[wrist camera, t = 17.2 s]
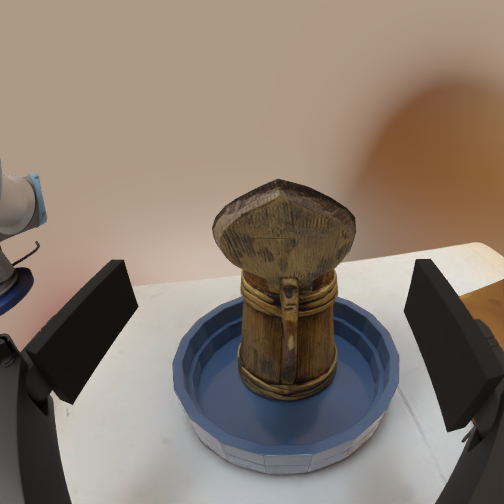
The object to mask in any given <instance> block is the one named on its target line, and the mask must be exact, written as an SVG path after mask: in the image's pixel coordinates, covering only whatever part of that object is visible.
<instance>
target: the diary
mask: <svg viewBox="0 0 504 504" xmlns="http://www.w3.org/2000/svg"><path fill="white" fill-rule="evenodd" d="M459 298H460V299H461V300H462V302H463V303H464V305H465V306H466V308H467V309H468V311H469V312H470V314H471V315H472V317H473V318H474V319H480V320H481V321H483V322H484V323H485V324H486V325H487V326H488V327H489V328H490V330H491V331H492V333H493V334H494V336H495V338H496V339H497V341H498V342H499V346H501V347H502V349H503V351H504V279H503V280H500V281H498V282H496V283H493V284H491V285H488V286H486V287H483V288H481V289H478V290H475V291H473V292H470V293H467V294H465V295H462V296H459ZM472 421H473V423H474V424H475V425H476V423H475V420H474V417H473V418H472Z"/></svg>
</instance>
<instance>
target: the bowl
mask: <svg viewBox="0 0 504 504" xmlns="http://www.w3.org/2000/svg"><path fill="white" fill-rule="evenodd" d="M242 316H243V296H242V297H239V298H237V299H234V300H232V301H229V302H227V303H224V304H222V305H219V306H218V307H216V308H215V309H213V310H212V311H210V312H209V313H208V314H206V315H205V316H203V317H202V318H200V319H199V320H198V321H197V322H196V323H195V324H194V325H193V326H192V327H191V329H190V330H189V331H188V332H187V333H186V334H185V336H184V337H183V338H182V340H181V342H180V344H179V347H178V350H177V352H176V355H175V358H174V360H173V363H172V365H173V381H174V391H175V393H176V395H177V397H178V400H179V402H180V404H181V406H182V408H183V410H184V412H185V414H186V416H187V418H188V420H189V421H190V423H191V425H192V427H193V428H194V430H195V432H196V434H197V435H198V437H199V439H200V440H201V441H202V442H203V443H204V444H205V445H207V446H208V447H209V448H211V449H212V450H213V451H214V452H216V453H217V454H218V455H220V456H221V457H222V458H224V459H225V460H226V461H228V462H230V463H233V464H236V465H239V466H242V467H245V468H248V469H251V470H254V471H258V472H261V473H265V474H291V473H307V472H311V471H314V470H317V469H320V468H322V467H325V466H328V465H331V464H333V463H336V462H338V461H341V460H343V459H345V458H346V457H348V456H349V455H350V454H351V453H353V452H354V451H355V450H356V449H357V448H359V447H360V446H361V445H362V444H363V443H364V442H366V441H367V440H368V439H369V438H370V437H371V436H372V435H373V433H374V431H375V429H376V428H377V426H378V424H379V422H380V420H381V419H382V417H383V415H384V413H385V411H386V409H387V407H388V405H389V403H390V401H391V399H392V397H393V395H394V393H395V390H396V388H397V386H398V383H399V354H398V352H397V350H396V347H395V345H394V342H393V340H392V338H391V335H390V333H389V332H388V331H387V330H386V329H385V327H384V326H383V325H382V324H381V323H380V322H379V321H378V320H377V319H376V318H375V317H374V316H373V315H372V314H371V313H369V312H368V311H366V310H364V309H363V308H361V307H359V306H358V305H356V304H354V303H353V302H351V301H349V300H346V299H342V298H339V297H337V298H336V300H335V302H334V304H333V319H334V342H335V345H336V349H337V370H336V372H335V375H334V377H333V379H332V382H331V383H330V384H328V385H327V386H326V387H325V388H324V389H322V390H321V391H319V392H317V393H315V394H313V395H311V396H309V397H305V398H301V399H298V400H281V399H273V398H266V397H263V396H261V395H259V394H257V393H254V392H252V391H251V390H250V389H249V388H248V387H247V386H246V385H245V384H244V383H243V381H242V379H241V376H240V374H239V371H238V348H239V345H240V343H241V334H242Z"/></svg>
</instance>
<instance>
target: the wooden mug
mask: <svg viewBox="0 0 504 504" xmlns="http://www.w3.org/2000/svg"><path fill="white" fill-rule="evenodd" d="M212 230H213V236H214V239H215V242H216V244H217V245H218V247H219V248H220V250H221V251H222V252H223V254H224V255H225V256H226V258H227V259H228V260H229V261H230V262H231V263H233V264H234V265H235V266H237V267H239V268H241V269H242V274H241V294H242V296H243V316H242V334H241V343H240V345H239V348H238V371H239V374H240V376H241V379H242V381H243V383H244V384H245V385H246V386H247V387H248V388H249V389H250V390H251V391H252V392H254V393H257V394H259V395H261V396H263V397H266V398H273V399H281V400H298V399H301V398H305V397H309V396H311V395H313V394H315V393H317V392H319V391H321V390H322V389H324V388H325V387H326V386H327V385H328V384H330V383H331V382H332V379H333V377H334V375H335V372H336V370H337V349H336V345H335V342H334V319H333V304H334V302H335V300H336V298H337V297H338V286H337V276H336V271H335V269H334V268H335V267H337V265H338V264H339V263H340V262H341V261H342V260H343V259H344V257H345V256H346V255H347V254H348V253H349V251H350V249H351V247H352V243H353V240H354V237H355V233H356V225H355V217H354V216H353V214H352V213H351V212H350V211H349V210H348V209H347V208H346V207H344V206H343V205H341V204H340V203H338V202H336V201H335V200H334V199H332V198H331V197H329V196H326V195H324V194H322V193H320V192H318V191H316V190H314V189H312V188H310V187H307V186H304V185H300V184H296V183H293V182H289V181H285V180H281V179H276V180H274V181H272V182H269V183H267V184H265V185H262V186H260V187H258V188H256V189H254V190H252V191H250V192H248V193H246V194H244V195H242V196H240V197H239V198H237V199H235V200H234V201H232V202H231V203H229V204H228V205H226V206H225V207H224V208H223V209H222V210H221V211H220V213H219V214H218V215H217V216H216V218H215V221H214V224H213V227H212Z"/></svg>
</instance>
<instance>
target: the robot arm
mask: <svg viewBox="0 0 504 504" xmlns="http://www.w3.org/2000/svg"><path fill="white" fill-rule="evenodd" d="M46 221H47V215H46V211H45V206H44V201H43V196H42V192H41V186H40V181H39V176H38V174H28V175H27V176H26V177H23V178H22V177H20V176H16V175H11V176H7V177H6V176H4V175H2V171H1V161H0V242H1V241H3V240H5V239H7V238H10V237H12V236H15V235H17V234H20V233H22V232H25V231H27V230H30V229H32V228H35V227H36V228H37V227H39V226H40V225H42V224H44V223H45V222H46ZM35 243H36V245H37V247H36V248H35V249H34V250H33V251H32V252H30V253H29V254H27V255H26V256H24V257H23V258H21V259H19V260H18V261H16V262H14V263H13V264H11V263H10V262H9V260H8V259H7V257H6V256H5V255H4V253H3V252H2V250H1V247H0V299H2V298H3V297H4V296H6V295H7V294H8V293H9V292H10V291H11V290H12V289H13V288H14V287H15V286H16V284H17V283H18V281H19V276H18V274H17V271H16V270H15V268H14V267H13V266H15V265H16V264H18V263H20V262H22V261H23V260H25V259H26V258H28V257H29V256H31V255H32V254H34V253H35V252H36V251H37V250H38V249H39V247H40V245H39V243H38V242H37V241H36V242H35ZM137 308H138V304H137V301H136V298H135V295H134V292H133V289H132V286H131V283H130V279H129V276H128V273H127V269H126V266H125V262H124V260H111V261H110V262H109V263H107V265H105V266H104V267H103V268H102V269H101V270H100V271H99V272H98V273H97V274H96V275H95V276H94V277H93V278H92V279H90V281H88V282H87V283H86V284H85V285H84V286H83V287H82V288H81V289H80V290H79V291H78V292H77V293H76V294H75V295H74V296H73V297H72V298H71V299H70V300H69V301H68V302H67V303H66V304H65V305H64V307H63V308H62V309H61V310H60V311H59V312H58V313H57V314H56V315H54V316H53V317H52V318H51V319H50V320H49V321H48V322H47V323H46V325H45V326H44V327H43V328H42V329H41V331H39V332H38V333H37V334H36V335H35V336H34V338H33V339H32V340H31V341H30V342H29V343H28V344H27V346H26V347H25V348H24V349H23V350H22V351H21V352H19V351H18V349H17V347H16V346H15V344H14V342H13V341H12V339H11V337H10V336H9V335H8V334H0V504H72V503H71V500H70V496H69V492H68V489H67V485H66V481H65V476H64V472H63V467H62V462H61V457H60V452H59V446H58V440H57V433H56V425H55V416H54V405H53V399H52V397H51V396H50V393H51V391H52V390H53V391H54V392H55V394H56V395H57V396H58V398H59V399H60V400H62V401H65V402H67V403H69V404H72V405H73V403H74V402H75V400H76V399H77V397H78V395H79V394H80V392H81V391H82V389H83V387H84V386H85V384H86V383H87V381H88V380H89V378H90V377H91V375H92V373H93V372H94V370H95V369H96V367H97V366H98V364H99V363H100V361H101V360H102V358H103V357H104V355H105V354H106V352H107V351H108V349H109V348H110V347H111V345H112V344H113V342H114V341H115V339H116V338H117V336H118V335H119V334H120V332H121V331H122V329H123V328H124V326H125V325H126V324H127V322H128V321H129V319H130V318H131V317H132V315H133V314H134V312H135V311H136V310H137ZM404 313H405V316H406V318H407V320H408V322H409V325H410V327H411V329H412V332H413V334H414V337H415V339H416V342H417V344H418V347H419V349H420V352H421V354H422V357H423V359H424V362H425V365H426V367H427V370H428V373H429V376H430V379H431V381H432V384H433V387H434V390H435V393H436V396H437V399H438V403H439V406H440V409H441V412H442V416H443V419H444V423H445V426H446V430H447V432H450V431H454V430H457V429H461V428H464V427H466V425H467V424H468V423H469V422H470V421H471V420H472V418H473V417H474V420H475V423H476V425H475V426H474V427H473V428H472V429H471V430H470V431H469V433H468V434H467V435H466V436H465V437H464V438H463V440H462V441H461V442H463V443H464V442H465V441H466V439H467V438H468V437H469V438H468V440H467V443H466V445H465V447H464V450H463V452H462V454H461V456H460V458H459V460H458V463H457V465H456V467H455V469H454V471H453V473H452V474H451V476H450V478H449V480H448V482H447V484H446V486H445V487H444V489H443V491H442V493H441V494H440V496H439V498H438V499H437V501H436V503H435V504H504V351H503V349H502V347H501V346H499V342H498V341H497V339H496V338H495V336H494V334H493V333H492V331H491V330H490V328H489V327H488V326H487V325H486V324H485V323H484V322H483V321H481V320H480V319H474V318H473V317H472V315H471V314H470V312H469V311H468V309H467V308H466V306H465V305H464V303H463V302H462V300H461V299H460V298H459V296H458V295H457V293H456V292H455V291H454V289H453V288H452V286H451V285H450V284H449V282H448V281H447V280H446V278H445V277H444V276H443V274H442V273H441V272H440V270H439V269H438V268H437V266H436V265H435V264H434V263H433V261H432V260H431V259H416V261H415V266H414V271H413V275H412V280H411V284H410V288H409V292H408V297H407V300H406V304H405V308H404Z"/></svg>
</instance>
